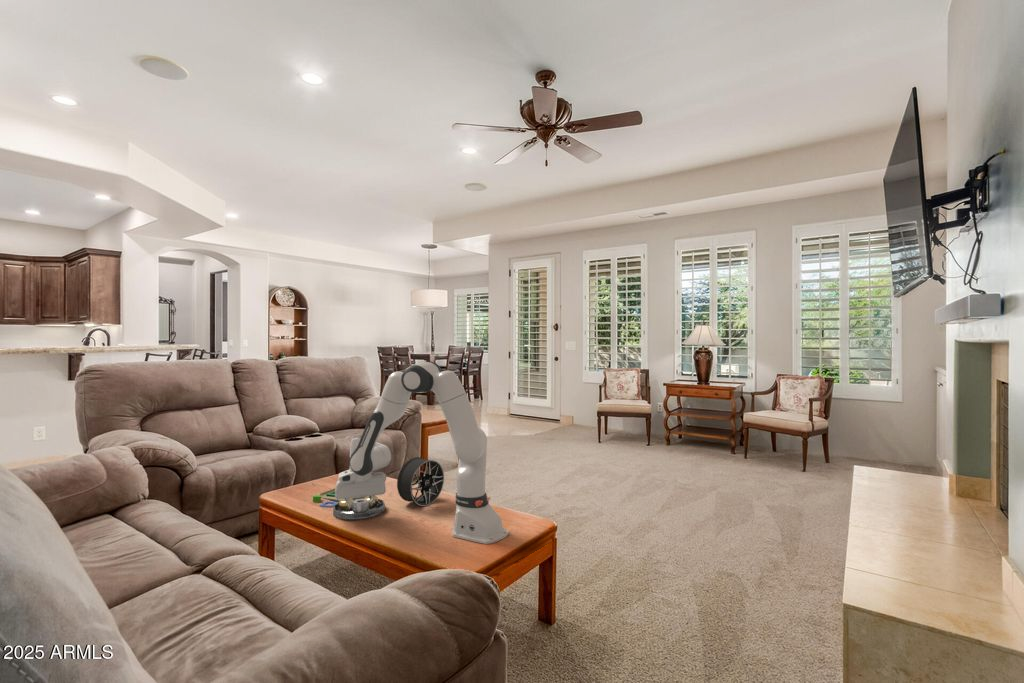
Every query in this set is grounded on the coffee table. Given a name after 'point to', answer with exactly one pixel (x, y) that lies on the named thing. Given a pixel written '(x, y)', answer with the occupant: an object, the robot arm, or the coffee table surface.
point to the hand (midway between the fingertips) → (360, 506)
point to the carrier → (345, 513)
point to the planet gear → (360, 505)
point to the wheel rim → (420, 481)
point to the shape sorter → (327, 495)
